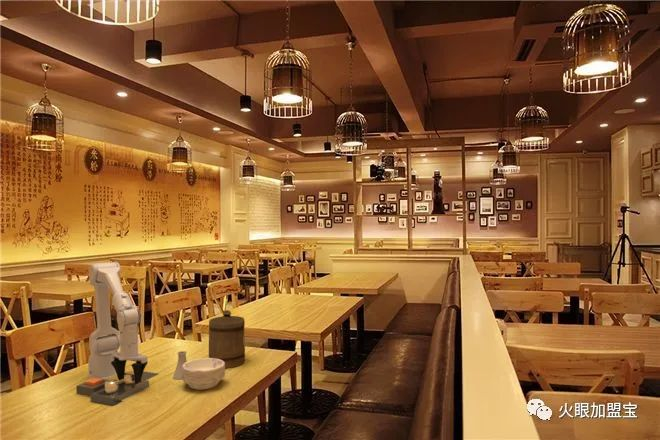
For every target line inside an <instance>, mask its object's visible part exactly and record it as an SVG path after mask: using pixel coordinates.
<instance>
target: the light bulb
mask: <svg viewBox="0 0 660 440" xmlns="http://www.w3.org/2000/svg"><path fill="white" fill-rule="evenodd" d="M107 380H108V381H106V382H105V395H107V396H113V395H115V394H117V393H118V382H119V380H118V379H107Z"/></svg>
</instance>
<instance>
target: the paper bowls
mask: <svg viewBox="0 0 660 440" xmlns="http://www.w3.org/2000/svg"><path fill="white" fill-rule="evenodd" d="M225 374H226V368H225V362H224V361H222V360H220V359H216V358H209V357H203V358H202V357H201V358H196V359H195V358H194V359H191V360H188V361H187V362H186V363H184V364H183V366H182V380H181V381H183V382H184V383H186V384H187V386H188V387H190V389H193V390H199V391H201V390H202V391H203V390H208V389H213V388H214V387H216V386H217V385H218V384H219V383H220V381H222V380H224V378H225V376H226V375H225Z"/></svg>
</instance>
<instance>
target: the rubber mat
mask: <svg viewBox="0 0 660 440" xmlns="http://www.w3.org/2000/svg"><path fill="white" fill-rule="evenodd" d="M158 375H159V373H156V372H149V371H145V370H144V371H143V374H142V378H141V380H146V381H149V380H150V379H151V378H152V379H153V378H154V377H156V376H158Z"/></svg>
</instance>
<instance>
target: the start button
mask: <svg viewBox="0 0 660 440" xmlns="http://www.w3.org/2000/svg"><path fill="white" fill-rule="evenodd" d="M103 379H104V378H103ZM103 379H99V378H94V377H92V378H91V379H88V380H86V381H85V382H86V385H89V386H96V385H98V384H101V383H103Z"/></svg>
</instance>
